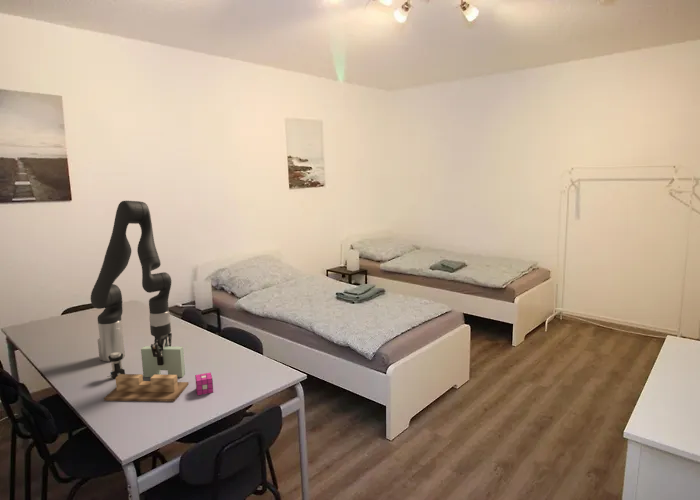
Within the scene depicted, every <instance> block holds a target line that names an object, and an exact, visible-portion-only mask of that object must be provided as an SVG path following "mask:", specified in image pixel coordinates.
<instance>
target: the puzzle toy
mask: <svg viewBox="0 0 700 500" xmlns="http://www.w3.org/2000/svg"><path fill="white" fill-rule="evenodd" d="M213 382H214V381H213V376H212V372H205V373H199V374H196V375H195V390H196V391H195V392H196V394H197V396H200V395H206V394H207V395H208V394H211V393H214V384H213Z"/></svg>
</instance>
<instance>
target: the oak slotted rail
mask: <svg viewBox="0 0 700 500" xmlns="http://www.w3.org/2000/svg"><path fill="white" fill-rule="evenodd" d="M143 378H144V377H143V373H142V374H139V373H129V374H127V373H125V374H119V375H118V376H117V377H116V378H115V388H114V389H112V391H111V392H109V393H108V394H106V396H104V397H103V401H108V402H109V401H110V402H111V401H112V402H117V401H118V402H176V400H177V399H178V398H179V397H180V395H181V394H182V393H183V392H184V391H185V389H186V388H187V387H188V386H189V382H187V381H178V377H177V375H168V374H160V375H155V374H154V375H153V376H152V377H149V379H150V380H144V379H143Z"/></svg>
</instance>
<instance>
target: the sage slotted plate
mask: <svg viewBox="0 0 700 500" xmlns="http://www.w3.org/2000/svg"><path fill="white" fill-rule="evenodd" d="M159 349H162V348H159ZM140 353H141V363H142V364H141V365H142V374H143V378H151V377H152V376H153V375H154V374H155V375H162V374H161V372H162V371H167V375H177V378H184V376H185V375H186V367H185V355H184V354H185V351H184V346H175V345H174V346H172V345H171V346H165V348H164V351H163V362H164V364H163V365H158V364H157V357H153V353H152V350H151V345H145V346H143V347H142V348H141V349H140ZM160 353H161V351H160Z"/></svg>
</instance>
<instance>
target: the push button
mask: <svg viewBox="0 0 700 500" xmlns="http://www.w3.org/2000/svg"><path fill="white" fill-rule="evenodd" d="M108 358H109V362H110V363H111V371H110V375H108V376H106V377H107V380H111V379H112V380H116V377H117V376H118V375H119V374H126V373H125V369H124V368H123V366H122V364H123V363H122V360H123V359H124V357H123V354H122V353H120V352H113V353H111V355H110V356H109V357H108Z"/></svg>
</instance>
